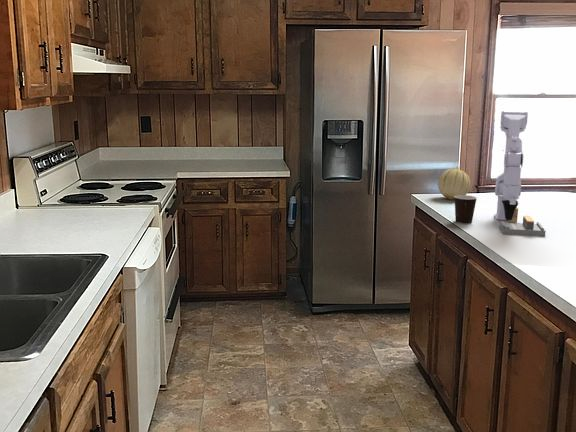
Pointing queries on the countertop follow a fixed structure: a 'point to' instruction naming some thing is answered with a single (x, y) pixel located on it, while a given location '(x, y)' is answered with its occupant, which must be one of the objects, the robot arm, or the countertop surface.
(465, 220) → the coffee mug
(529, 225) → the breaker toggle
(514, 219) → the oak post
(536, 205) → the countertop surface
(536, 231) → the box
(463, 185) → the cantaloupe
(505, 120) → the robot arm
